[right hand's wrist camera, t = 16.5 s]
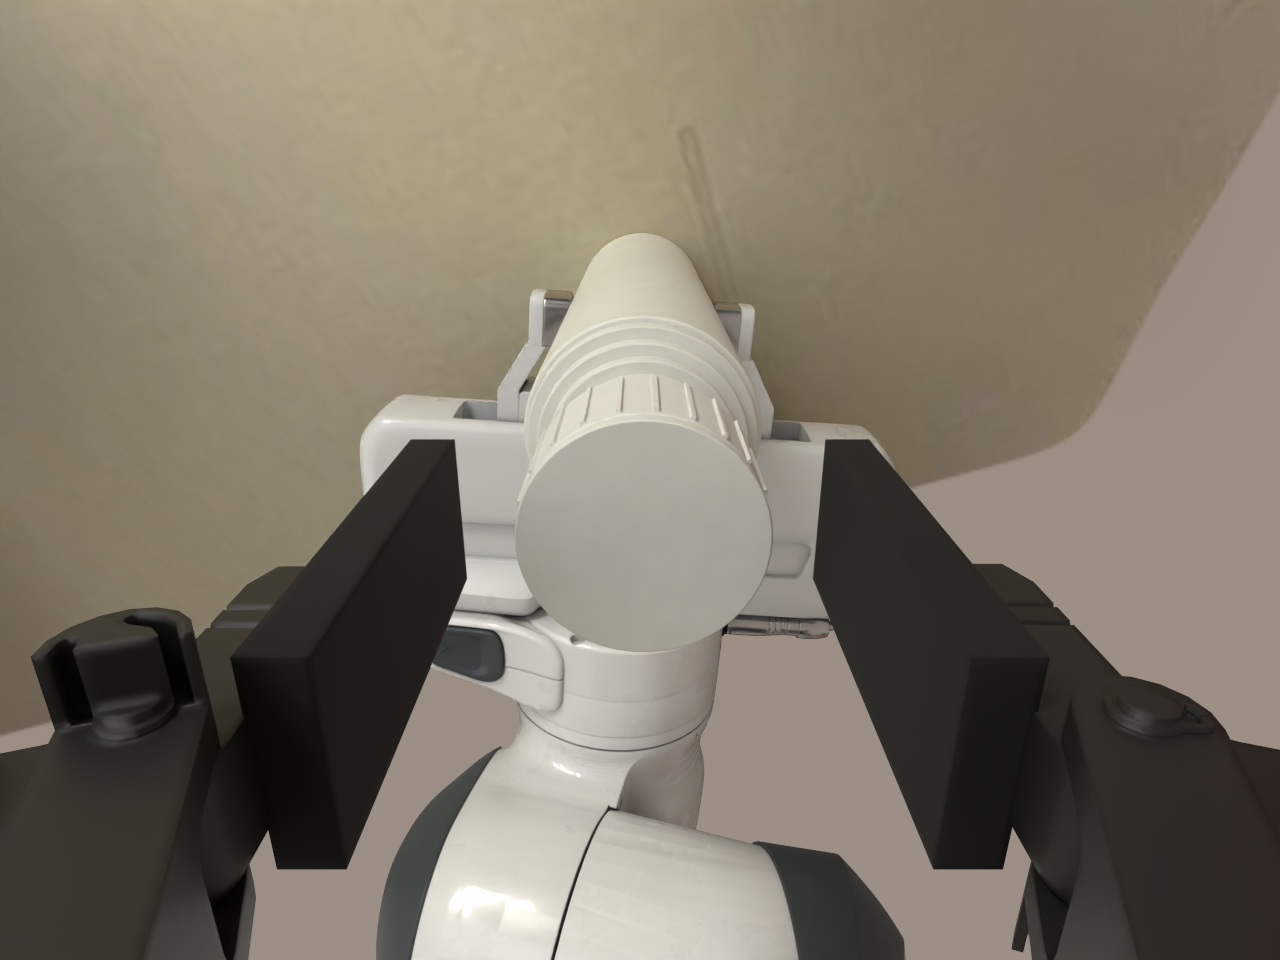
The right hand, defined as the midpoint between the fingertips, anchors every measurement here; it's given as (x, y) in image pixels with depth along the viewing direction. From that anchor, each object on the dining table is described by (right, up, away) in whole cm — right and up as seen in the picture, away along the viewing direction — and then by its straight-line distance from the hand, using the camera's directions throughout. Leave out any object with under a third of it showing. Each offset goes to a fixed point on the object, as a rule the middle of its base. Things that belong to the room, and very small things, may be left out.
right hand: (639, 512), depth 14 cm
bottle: (0, +9, +21) cm, 23 cm away
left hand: (0, +7, +15) cm, 16 cm away
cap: (0, +1, +1) cm, 1 cm away
